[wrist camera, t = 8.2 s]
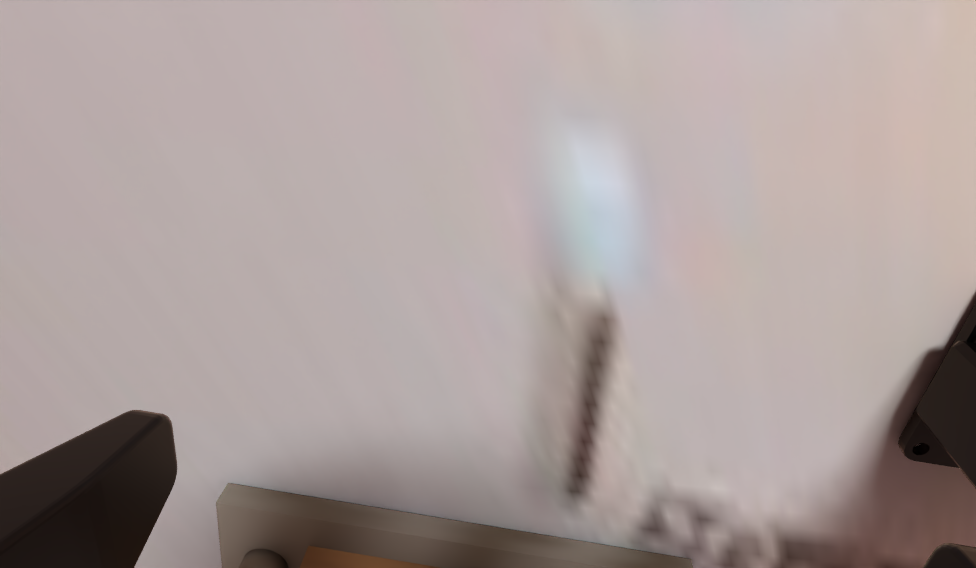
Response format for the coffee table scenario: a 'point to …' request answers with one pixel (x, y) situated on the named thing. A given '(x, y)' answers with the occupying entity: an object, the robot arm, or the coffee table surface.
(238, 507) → the stacked plates with bolts
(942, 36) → the coffee table surface
